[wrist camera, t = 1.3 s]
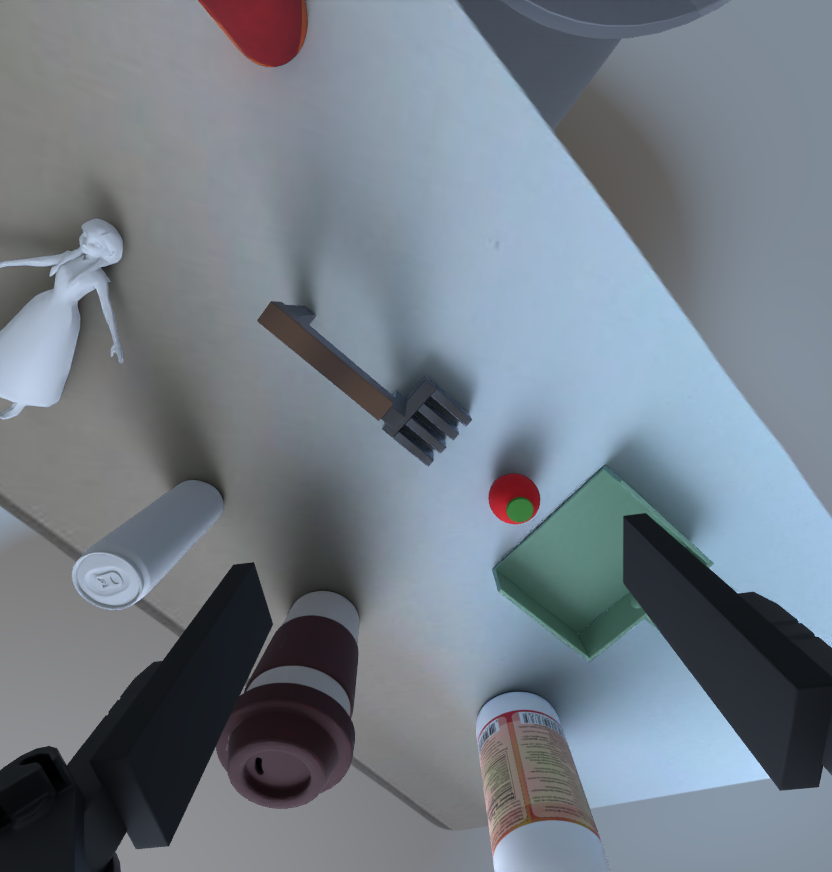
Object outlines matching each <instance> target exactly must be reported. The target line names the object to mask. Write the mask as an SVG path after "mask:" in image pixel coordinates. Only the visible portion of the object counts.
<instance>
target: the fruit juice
mask: <svg viewBox="0 0 832 872" xmlns="http://www.w3.org/2000/svg"><path fill="white" fill-rule="evenodd" d="M476 735H477V743H478V750H479V758H480V765H481V772H482V780H483V787H484V795H485V802H486V809H487V817H488V824H489V831H490V839H491V846H492V854H493V863H494V870H495V872H611V869H610V866H609V863H608V860H607V856H606V853H605V850H604V848H603V845H602V842H601V840H600V837H599V834H598V831H597V828H596V825H595V822H594V819H593V816H592V813H591V810H590V807H589V804H588V802H587V799H586V796H585V793H584V790H583V787H582V784H581V781H580V778H579V775H578V772H577V770H576V767H575V764H574V761H573V758H572V755H571V752H570V749H569V746H568V743H567V740H566V738H565V735H564V732H563V729H562V726H561V723H560V720H559V718H558V716H557V714H556V712H555V710H554V709H553V707H552V706H551V705H550V704H549V703H548V702H547V701H546V700H545V699H543V698H542V697H540V696H538V695H535V694H532V693H527V692H510V693H505V694H502V695H499V696H497V697H495V698H493V699H492V700H490V701H489V702H488V703H486V704H485V705H484V707H483V708H482V709H481V711H480V713H479V715H478V718H477V723H476Z"/></svg>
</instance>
